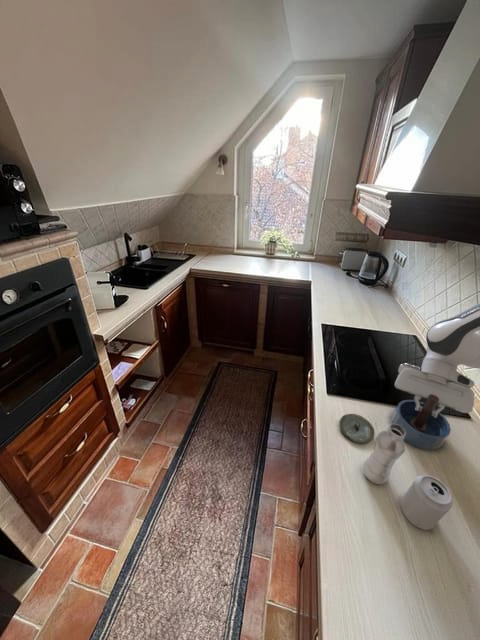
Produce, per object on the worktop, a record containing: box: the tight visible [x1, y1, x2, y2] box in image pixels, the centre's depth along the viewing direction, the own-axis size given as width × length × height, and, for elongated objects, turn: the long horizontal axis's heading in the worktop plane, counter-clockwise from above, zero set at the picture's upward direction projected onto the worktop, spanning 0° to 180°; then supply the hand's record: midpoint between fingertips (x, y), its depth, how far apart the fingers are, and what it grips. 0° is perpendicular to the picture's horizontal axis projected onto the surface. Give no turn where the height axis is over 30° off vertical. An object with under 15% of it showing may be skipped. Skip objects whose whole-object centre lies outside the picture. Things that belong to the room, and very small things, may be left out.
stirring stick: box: [409, 394, 439, 433], centre depth 81 cm, size 5×5×15 cm
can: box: [399, 474, 453, 531], centre depth 61 cm, size 8×8×12 cm
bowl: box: [391, 399, 452, 451], centre depth 83 cm, size 15×15×6 cm
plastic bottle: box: [362, 423, 406, 485], centre depth 67 cm, size 6×7×20 cm
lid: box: [339, 413, 375, 444], centre depth 83 cm, size 11×10×5 cm
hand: (425, 413), depth 80 cm, fingers closed on stirring stick, 3 cm apart
